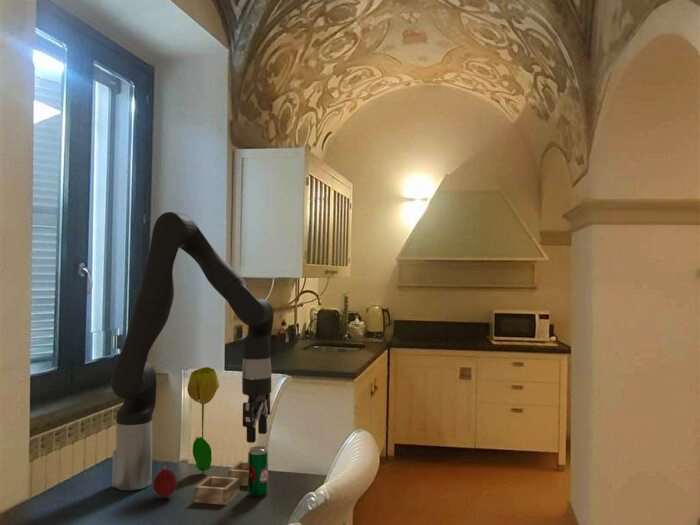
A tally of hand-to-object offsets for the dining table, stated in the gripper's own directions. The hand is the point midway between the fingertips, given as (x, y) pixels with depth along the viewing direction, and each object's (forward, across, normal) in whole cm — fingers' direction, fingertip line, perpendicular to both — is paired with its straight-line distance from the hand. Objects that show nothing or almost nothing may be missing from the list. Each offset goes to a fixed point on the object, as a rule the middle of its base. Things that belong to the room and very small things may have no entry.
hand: (257, 437), depth 159 cm
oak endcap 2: (+15, -10, -6) cm, 19 cm away
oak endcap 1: (+15, +4, -9) cm, 18 cm away
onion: (+15, +7, -22) cm, 28 cm away
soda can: (+15, 0, 0) cm, 15 cm away
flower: (+15, -13, -21) cm, 29 cm away
